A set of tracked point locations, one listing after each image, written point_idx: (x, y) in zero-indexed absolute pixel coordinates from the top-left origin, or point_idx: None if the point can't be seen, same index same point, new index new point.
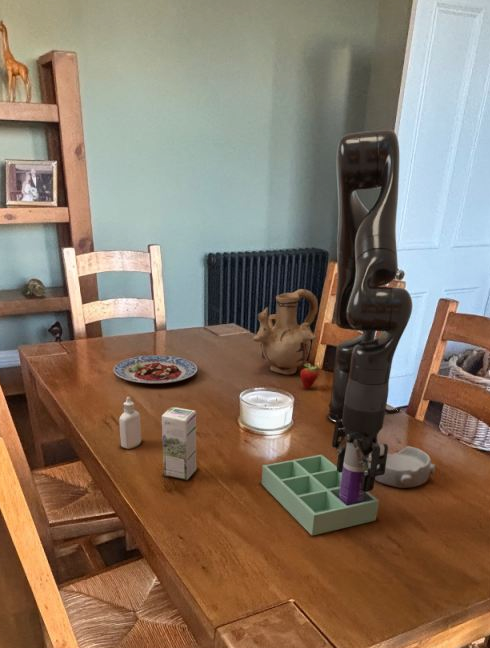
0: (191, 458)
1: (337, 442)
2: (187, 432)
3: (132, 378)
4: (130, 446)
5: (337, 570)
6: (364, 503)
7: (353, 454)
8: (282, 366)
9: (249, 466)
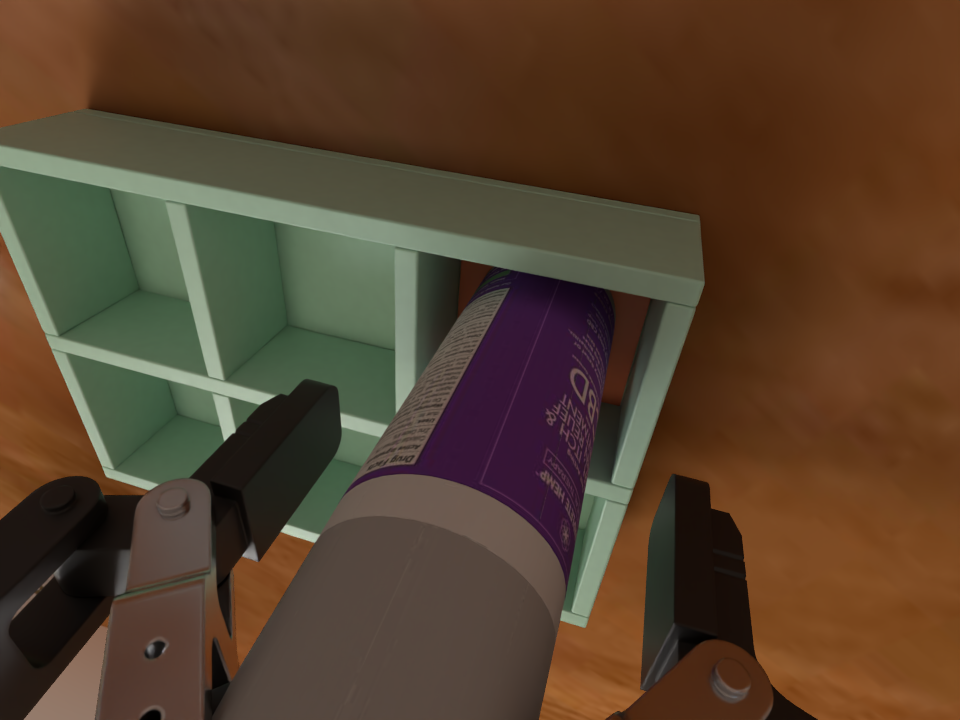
0: (49, 579)
1: (92, 611)
2: None
3: None
4: None
5: (857, 627)
6: (660, 393)
7: None
8: None
9: (34, 357)
